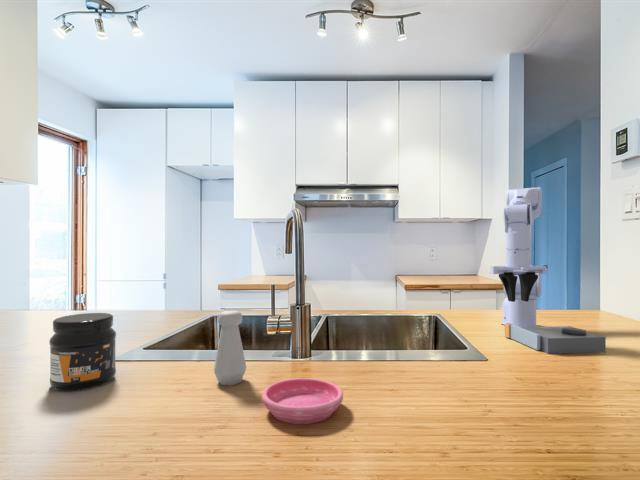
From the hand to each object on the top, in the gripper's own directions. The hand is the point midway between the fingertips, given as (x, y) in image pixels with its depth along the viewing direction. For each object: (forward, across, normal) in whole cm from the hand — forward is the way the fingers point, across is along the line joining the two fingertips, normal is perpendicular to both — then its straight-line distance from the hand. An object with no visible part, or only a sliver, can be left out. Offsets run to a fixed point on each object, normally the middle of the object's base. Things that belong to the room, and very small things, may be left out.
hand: (518, 301), depth 103 cm
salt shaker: (+10, -71, -26) cm, 76 cm away
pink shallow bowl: (+10, -58, -39) cm, 71 cm away
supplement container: (+10, -98, -24) cm, 102 cm away
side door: (+10, -2, -5) cm, 11 cm away
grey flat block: (+10, +6, -8) cm, 14 cm away
